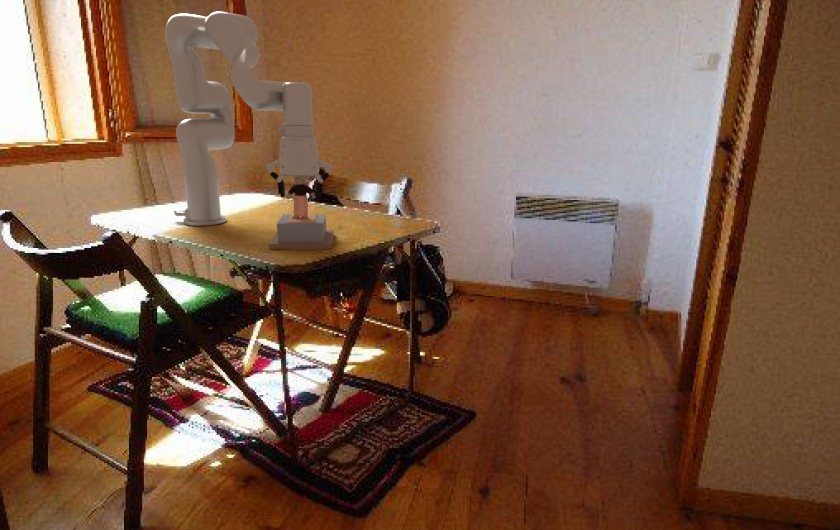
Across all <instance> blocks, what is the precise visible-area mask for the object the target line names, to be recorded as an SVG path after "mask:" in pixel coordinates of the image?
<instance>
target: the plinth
mask: <svg viewBox="0 0 840 530" xmlns="http://www.w3.org/2000/svg"><path fill="white" fill-rule="evenodd" d="M293 215H294V213H292V214H282V215H281V217H280V218H279V220H278V221H277V223H276V230H277V231H276V232H275V234H274V235H273V237H272V239H271V240H270V242H269V243H268V250H269V251H272V250H271V249H289V250H332V246H333V241H334V236H335V231H334V229H327V214H323V213H322V214H320V213H319V214H317V213H308V215H307V216H308V219H302V218H301V217H302V216H300V218H298V219H292V216H293Z"/></svg>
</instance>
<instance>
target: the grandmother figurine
mask: <svg viewBox="0 0 840 530" xmlns="http://www.w3.org/2000/svg"><path fill="white" fill-rule="evenodd" d="M293 179H294V182H295V184H294V185H292V186H291V187H290V189H289V190H288V192H287V196H286V199H287V200H290V199H291V197H292V195H293V194H294V196H293V207H292V208H293V214H294V215H293V216H292V219H298V218H300V216H302V217H301V218H302V219H308V216H307V215H308V214H309V203H308V196H307V194H309V195H310V196H311V198H312V199H316V198H317V195H315V192H314V189H312V188H311V187H310V186H309V185H306V184H305V182H306V180H307V179H308V177H307V176H293Z"/></svg>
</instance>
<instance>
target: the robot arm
mask: <svg viewBox="0 0 840 530" xmlns="http://www.w3.org/2000/svg"><path fill="white" fill-rule="evenodd" d="M258 39H259V30H258V27H257V24H256V23H255V22H254V21H253V19H252V18H250V17H249V16H247V15H243V14H237V13H233V12H232V13H231V12H227V11H214V12H212V13H210V14H209V15H208V16H203V15H197V14H192V13H191V14H190V13H178V14H174V15H172V16H171V17H170V18H169V19H168V21H167V22H166V25H165V29H164V40H165V44H166V48H167V52H168V54H169V58H170V60H171V65H172V72H173V79H174V87H175V94H176V95H175V96H176V99H177V100H176V102H177V105H178V107H179V108H180V110H182V112H184V113H186V114H195V115H196V114H200V115H201V114H202V115H203V114H204V115H205V114H208V115H209V118H208V117H207V118H205V117H199V118H196V117H193V118H187V119H183V120H182V121H180V122H178V124H177V126H176V128H175V136H176V140H177V143H178V147H179V150H180V155H181V160H182V161H181V162H182V167H183V168H182V169H183V175H184V176H183V177H184V185H185V195H186V197H185V198H186V205H187V207H185V208H184V209H181V208H179V209H178V208H177V209H174V211H173V212H174V215H175V216H176V217H184V218H183V224H185V225H187V226H194V227H195V226H196V227H197V226H198V227H199V226H200V227H202V226H203V227H204V226H205V227H207V226H215V225H220V224H223V223H226V222H227V217H226V216H225V215H222V213H221V202H220V191H219V189H220V188H219V179H218V177H219V176H218V170H217V164H216V161H215V159H214V158H213V156H212V154H211V153H210V151H216V150H217V151H218V150H219V151H220V150H226V149H229V148H231V147H232V146H233V144H234V142H235V137H236V136H235V134H236V133H235V132H236V131H235V123H234V114H233V113H234V112H233V102H232V98H231V95H230V92H229V90H228V88H227V87H226V86H225V85H224V84H223V83H221V82H219V81H213V80H212V81H211V80H207V79H206V74H205V66H204V63H203V61H202V59H201V57H200V56H199V54H198V53H197V51H196V50H195V49H194V48H200V49H208V50H209V49H210V50H216V51H217V50H219V51H220V53H221V54H222V55H223V57H224V58H225V59H226V60H227V62H228V63H229V64H230V65H231V67H230V77H231V81H232V85H233V87H234V89H235V91H236V93H237V94H238V95H239V97H241V99H242V100H243V102H244V103H246V105H247V106H248V107H250V108H251V109H252V110H255V111H261V112H270V111H271V112H282V118H283V119H282V120H283V125H282V126H278V127H277V132H278V133H282V135H283V136H281V138H280V142H279V159H277V160H274V161H272V162H271V163H269V164H267V165H266V167H265V168H266V169H267V170H268V173H269V175H270V176H271V178H273V179H274V181H275V182H276V183H277V192H278V193H277V194H278V195H280V199H281V198H282V199H283V198H284V197H285V196H286V191H285V189H286V188H285V181H284V179H285V177H294V176H306V177H314V178H315V180H317V183H316V193H317V194H316V198H318V199H320V198H321V195H323V194H324V181H326V180H327V179H328V177H330V174H331V172H332V171H333V167H334V166H333V165H331V164H329V163H328V162H326V161H324V160H321V159H320V155H319V148H318V142H317V138H316V137H314V117H313V115H314V114H313V113H314V111H313V109H314V108H313V89H312V86H311V85H310V83H308V82H301V81H300V82H299V81H298V82H297V81H287V82H286V81H276V80H266V79H264V80H263V79H259V78H258V77H256V75H255V74H254V73H253V72H252V69H254V68H255V67H256V65H257V64H258V63H259V60H260V57H261V52H260V48H259V47H258V46H257V45H256V43H257V42H258ZM277 166H279V173H280V174H278V173H277V172H276V171H275V169H274V168H275V167H277ZM320 166H321V167H322V168H325V170H326V171H325V173H323V175H321V174H320V173H319V172H320Z"/></svg>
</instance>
